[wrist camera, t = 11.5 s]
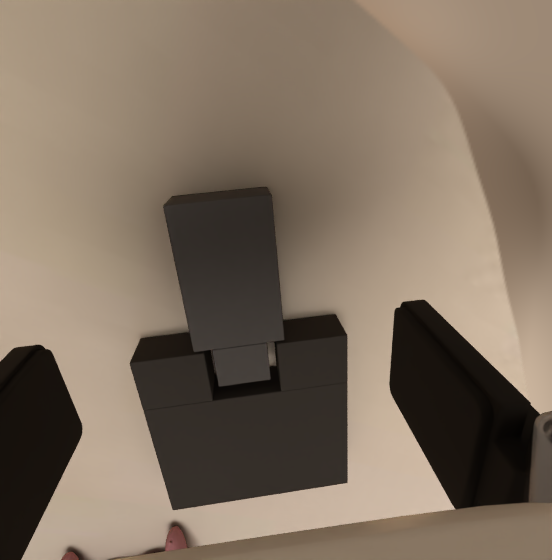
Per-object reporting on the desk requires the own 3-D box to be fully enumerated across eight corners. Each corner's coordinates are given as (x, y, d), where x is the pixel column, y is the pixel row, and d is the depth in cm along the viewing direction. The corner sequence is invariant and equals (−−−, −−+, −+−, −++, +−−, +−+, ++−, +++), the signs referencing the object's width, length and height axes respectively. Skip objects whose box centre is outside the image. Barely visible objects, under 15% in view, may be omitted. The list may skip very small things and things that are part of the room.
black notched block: (140, 338, 21) (129, 363, 19) (335, 313, 22) (347, 335, 20) (177, 477, 26) (172, 510, 24) (338, 453, 27) (347, 483, 25)
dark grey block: (171, 196, 18) (162, 205, 16) (267, 186, 19) (271, 194, 17) (204, 363, 23) (201, 389, 20) (282, 352, 23) (288, 377, 21)
